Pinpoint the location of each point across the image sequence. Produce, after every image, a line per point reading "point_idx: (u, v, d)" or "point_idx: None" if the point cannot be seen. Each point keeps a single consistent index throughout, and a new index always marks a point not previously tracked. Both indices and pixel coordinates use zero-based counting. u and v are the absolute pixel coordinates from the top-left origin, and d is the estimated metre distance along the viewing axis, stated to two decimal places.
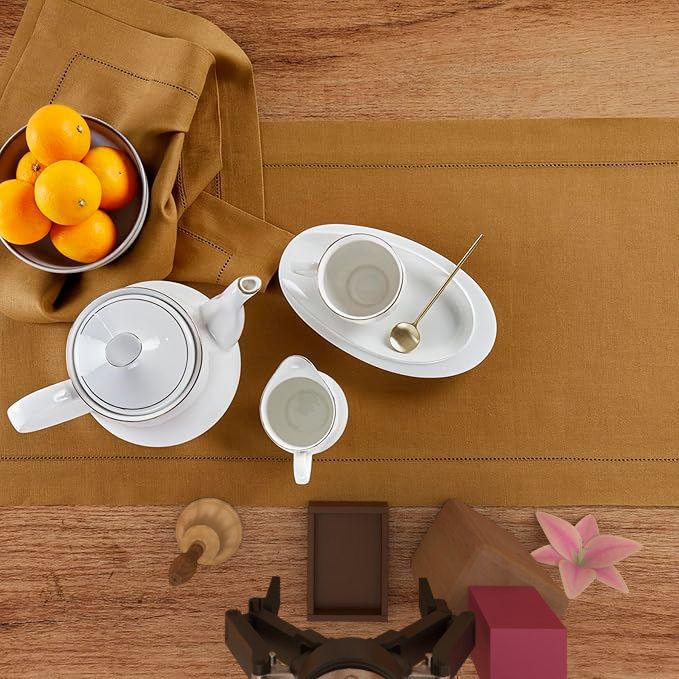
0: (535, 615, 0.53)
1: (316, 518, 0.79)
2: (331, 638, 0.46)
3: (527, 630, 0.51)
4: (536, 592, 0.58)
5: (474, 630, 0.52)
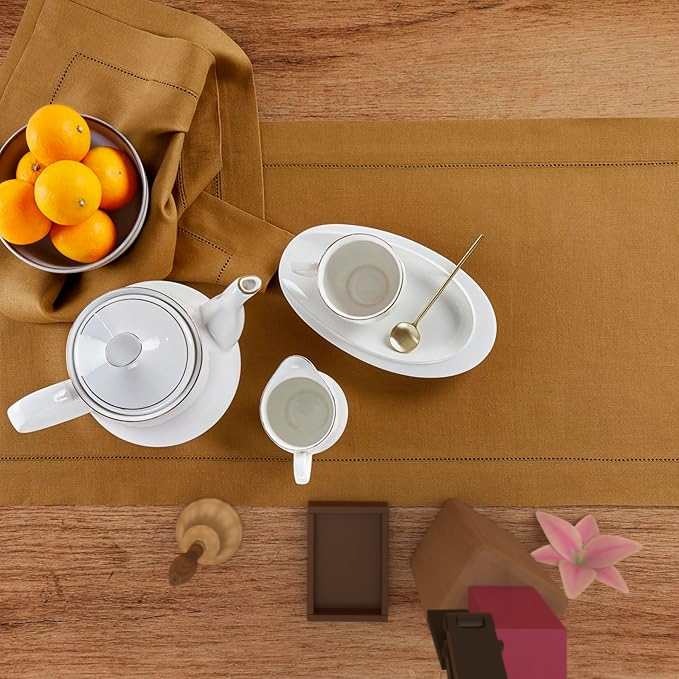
0: (535, 615, 0.53)
1: (316, 518, 0.79)
2: None
3: (527, 631, 0.51)
4: (536, 592, 0.58)
5: (469, 618, 0.35)
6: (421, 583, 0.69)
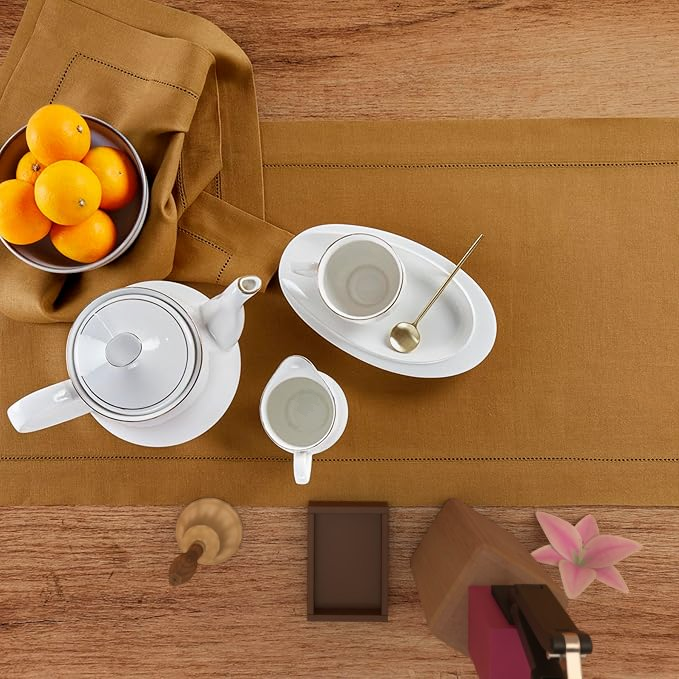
0: None
1: (316, 518, 0.79)
2: None
3: None
4: None
5: (531, 585, 0.50)
6: (421, 582, 0.69)
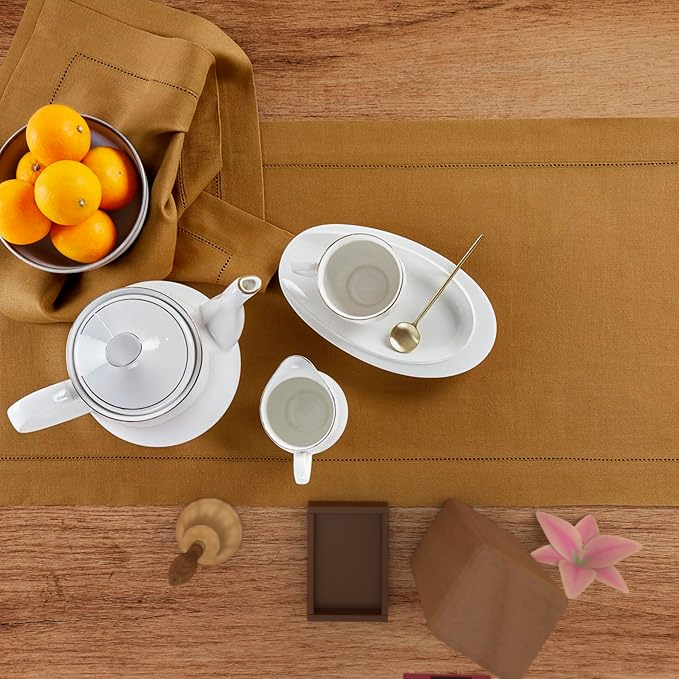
0: None
1: (316, 518, 0.79)
2: None
3: None
4: None
5: None
6: (421, 582, 0.69)
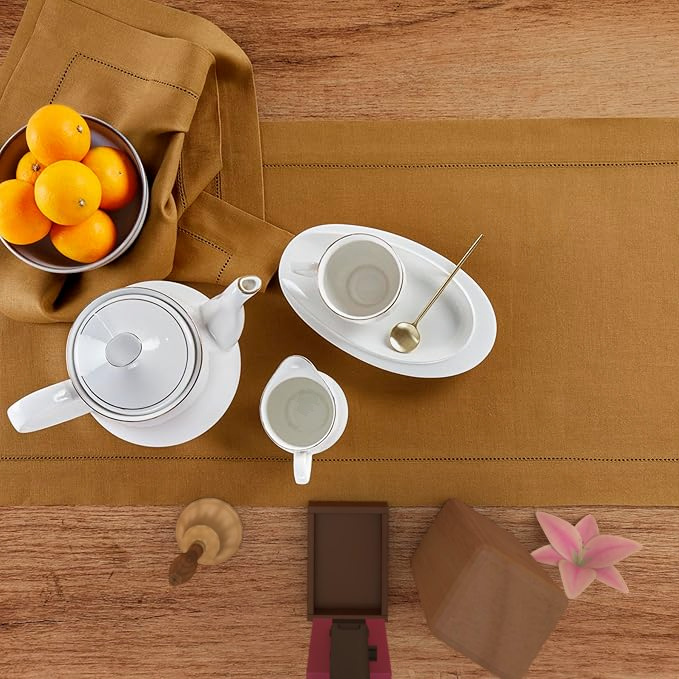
0: None
1: (316, 518, 0.79)
2: None
3: None
4: (382, 626, 0.53)
5: (348, 625, 0.45)
6: (421, 583, 0.69)
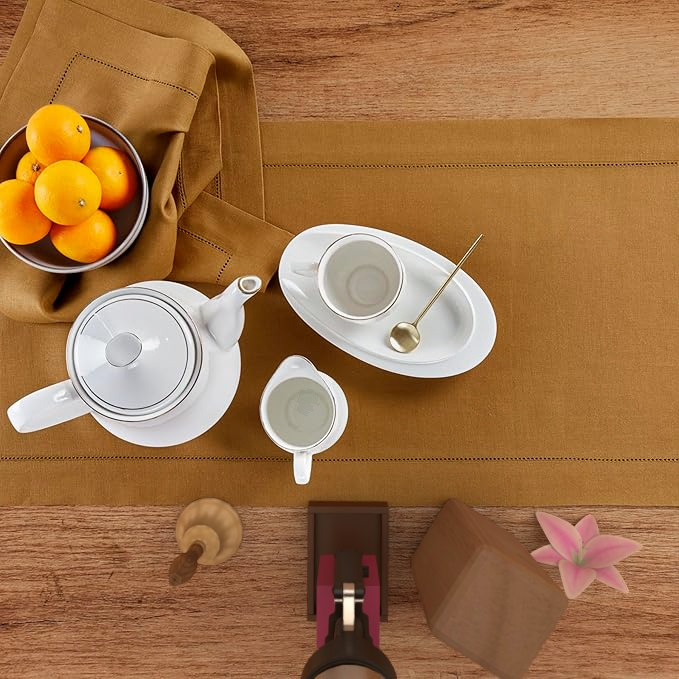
0: None
1: (316, 518, 0.79)
2: None
3: None
4: (374, 559, 0.69)
5: (348, 550, 0.61)
6: (421, 583, 0.69)
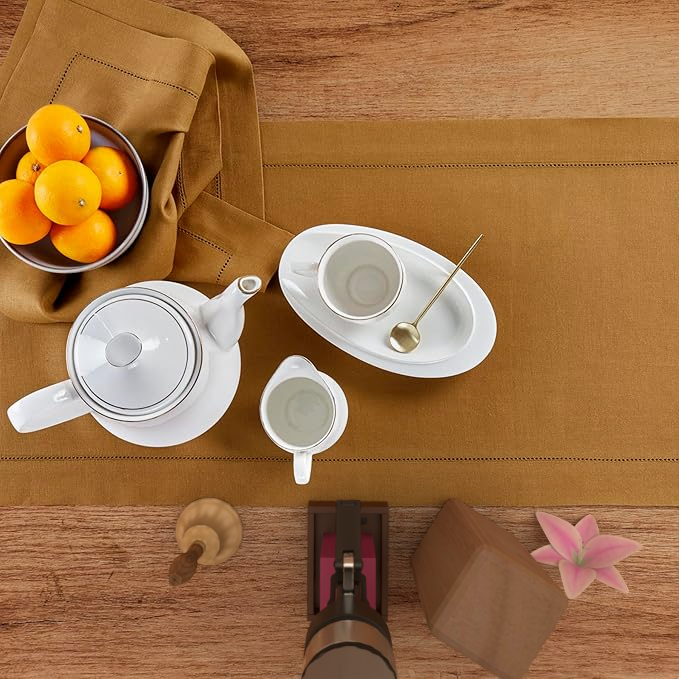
0: None
1: (316, 518, 0.79)
2: None
3: None
4: (371, 537, 0.77)
5: (348, 501, 0.66)
6: (421, 583, 0.69)
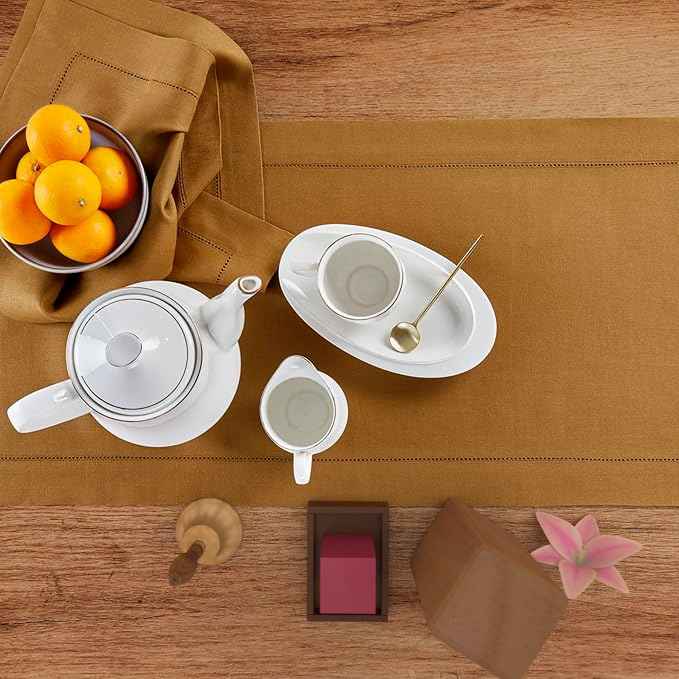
0: (359, 550, 0.72)
1: (316, 518, 0.79)
2: None
3: (347, 559, 0.70)
4: (371, 537, 0.77)
5: None
6: (421, 583, 0.69)
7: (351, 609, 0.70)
